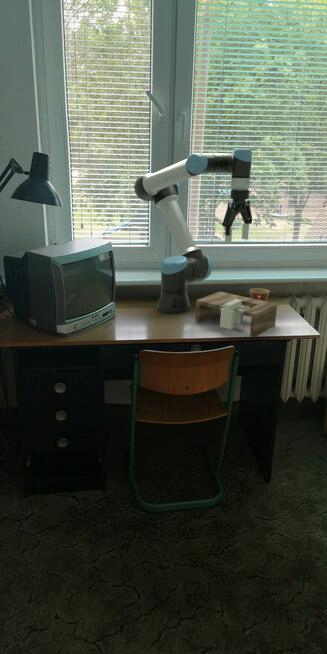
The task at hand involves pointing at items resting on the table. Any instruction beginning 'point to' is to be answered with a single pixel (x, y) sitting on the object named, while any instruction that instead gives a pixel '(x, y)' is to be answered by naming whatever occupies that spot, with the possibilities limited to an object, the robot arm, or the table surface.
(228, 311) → the white plastic block
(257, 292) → the mug
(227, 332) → the table surface
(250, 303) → the shelf
